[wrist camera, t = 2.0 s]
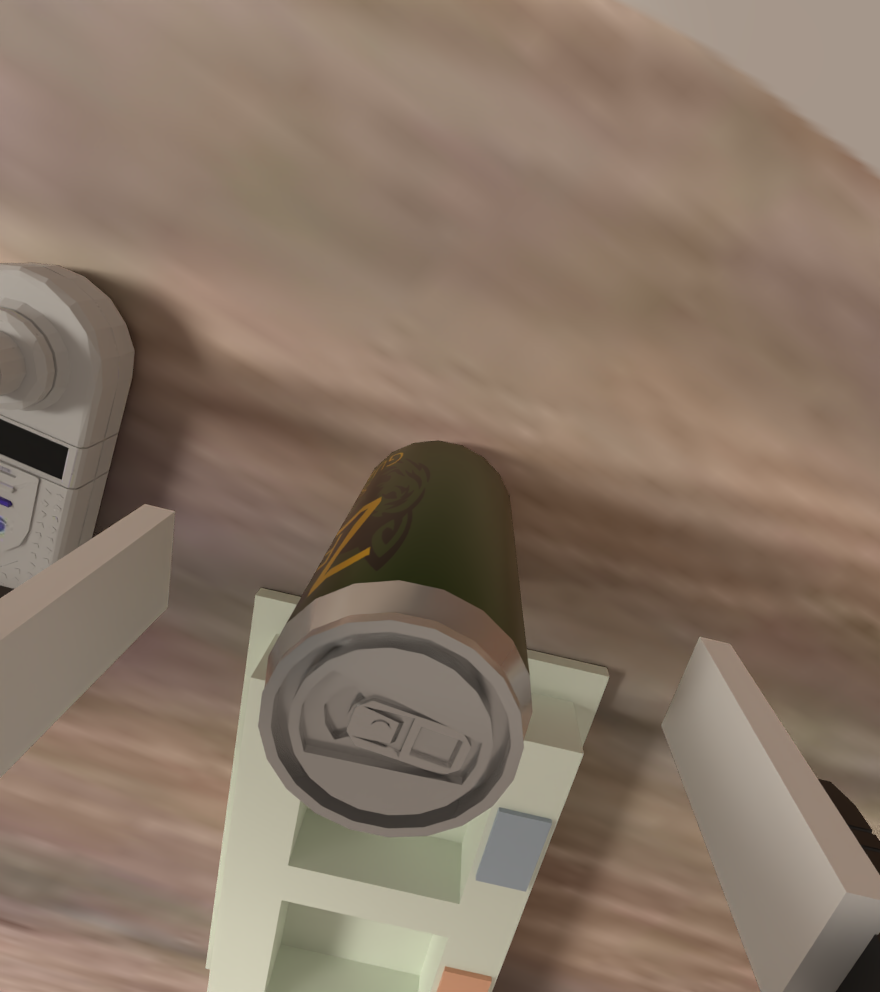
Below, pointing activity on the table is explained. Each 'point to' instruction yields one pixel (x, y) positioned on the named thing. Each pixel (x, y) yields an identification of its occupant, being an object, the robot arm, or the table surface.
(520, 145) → the table surface
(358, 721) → the beer can
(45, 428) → the electronic device
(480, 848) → the socket board
